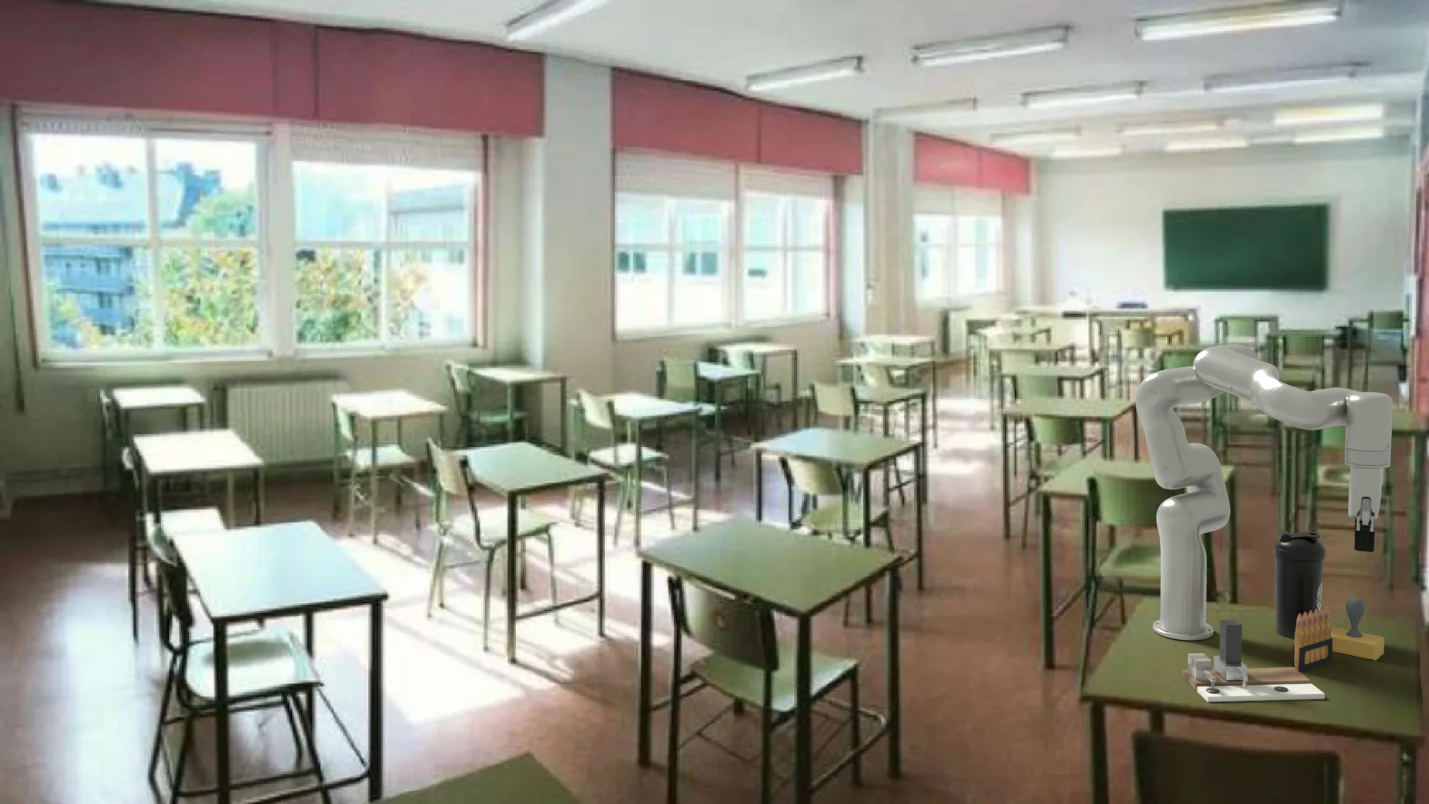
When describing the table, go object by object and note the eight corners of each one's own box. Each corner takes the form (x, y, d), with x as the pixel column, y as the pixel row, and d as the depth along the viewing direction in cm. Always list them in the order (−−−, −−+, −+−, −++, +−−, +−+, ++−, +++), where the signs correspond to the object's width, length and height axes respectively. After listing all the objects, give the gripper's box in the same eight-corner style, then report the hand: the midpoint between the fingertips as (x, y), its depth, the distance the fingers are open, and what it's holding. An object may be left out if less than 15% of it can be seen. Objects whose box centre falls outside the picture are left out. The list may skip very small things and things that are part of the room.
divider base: (1182, 677, 223) (1182, 651, 222) (1293, 674, 222) (1293, 648, 221) (1203, 697, 212) (1203, 670, 212) (1319, 694, 211) (1319, 667, 211)
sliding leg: (1213, 668, 222) (1214, 617, 220) (1233, 668, 222) (1234, 617, 220) (1234, 687, 212) (1235, 634, 210) (1256, 687, 212) (1257, 634, 210)
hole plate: (1197, 691, 215) (1197, 685, 215) (1311, 688, 214) (1311, 682, 214) (1207, 701, 210) (1207, 695, 210) (1324, 698, 209) (1324, 692, 209)
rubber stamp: (1384, 653, 231) (1386, 598, 229) (1375, 661, 227) (1377, 605, 225) (1332, 643, 238) (1334, 589, 236) (1323, 650, 234) (1324, 596, 232)
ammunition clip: (1299, 672, 223) (1301, 615, 221) (1291, 669, 224) (1292, 613, 223) (1332, 661, 228) (1334, 605, 226) (1324, 658, 229) (1325, 603, 228)
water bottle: (1326, 642, 238) (1329, 539, 235) (1274, 639, 242) (1276, 537, 239) (1319, 627, 247) (1321, 528, 244) (1268, 624, 251) (1270, 526, 248)
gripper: (1345, 448, 218) (1342, 532, 220) (1344, 464, 203) (1340, 554, 205) (1389, 450, 214) (1385, 535, 216) (1391, 467, 199) (1387, 558, 202)
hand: (1363, 544), depth 211 cm, fingers open, 9 cm apart
